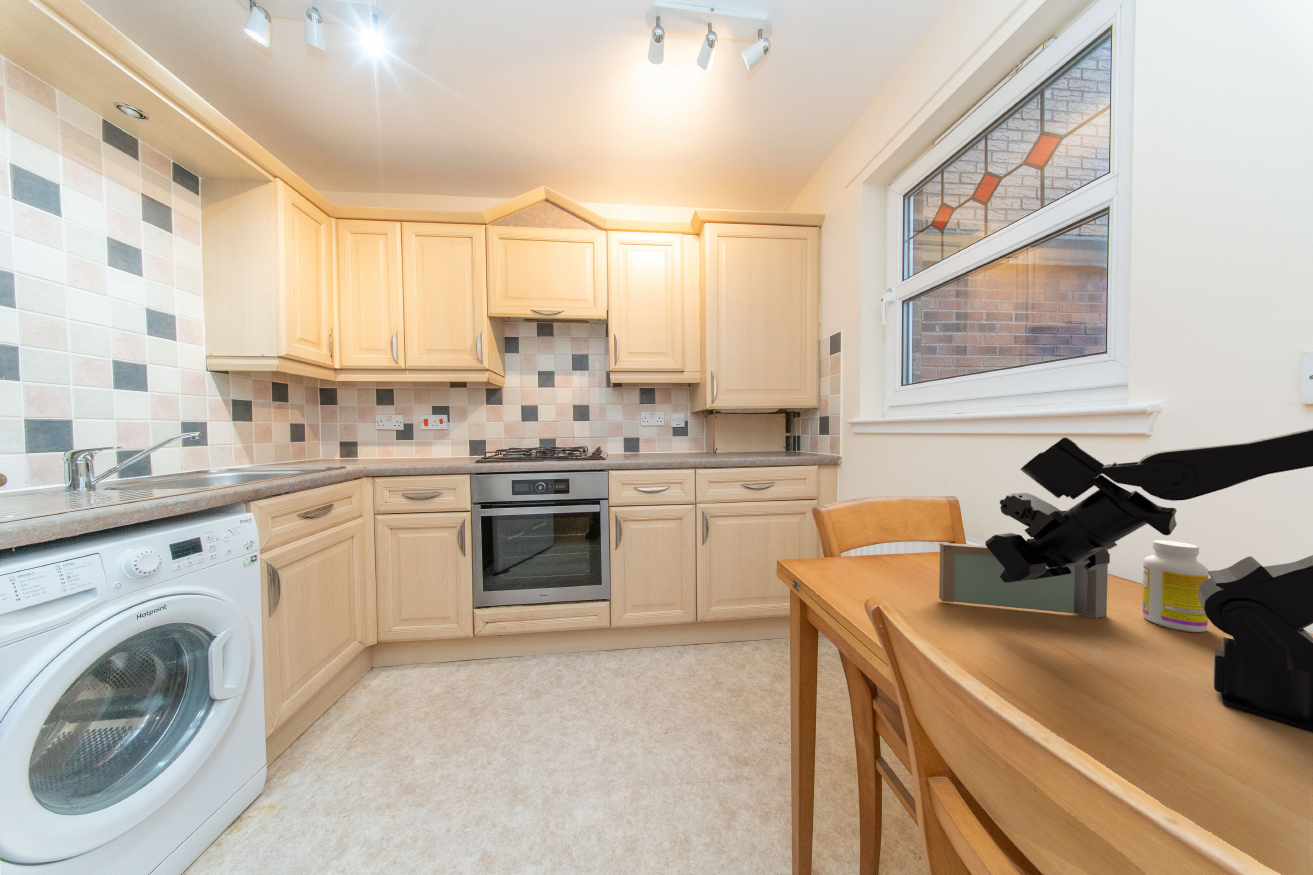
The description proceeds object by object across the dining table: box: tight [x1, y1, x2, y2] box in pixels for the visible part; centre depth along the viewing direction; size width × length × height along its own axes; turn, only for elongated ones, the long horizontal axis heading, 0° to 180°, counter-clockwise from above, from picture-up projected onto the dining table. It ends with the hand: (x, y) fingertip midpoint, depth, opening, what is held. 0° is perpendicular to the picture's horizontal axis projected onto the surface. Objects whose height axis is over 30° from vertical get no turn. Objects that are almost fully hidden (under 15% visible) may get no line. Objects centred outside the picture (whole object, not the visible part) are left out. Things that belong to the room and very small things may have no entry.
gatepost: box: [1085, 549, 1109, 619], centre depth 72 cm, size 3×3×12 cm
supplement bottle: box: [1142, 539, 1210, 633], centre depth 68 cm, size 7×7×13 cm
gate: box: [938, 542, 1088, 616], centre depth 74 cm, size 21×2×10 cm, turn 75°
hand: (1003, 579), depth 68 cm, fingers closed
